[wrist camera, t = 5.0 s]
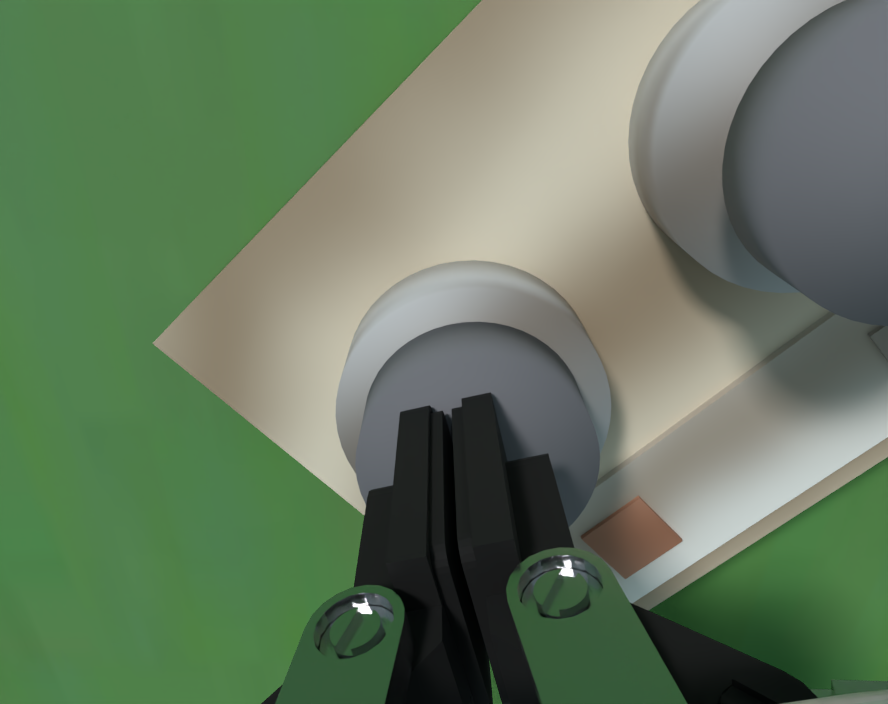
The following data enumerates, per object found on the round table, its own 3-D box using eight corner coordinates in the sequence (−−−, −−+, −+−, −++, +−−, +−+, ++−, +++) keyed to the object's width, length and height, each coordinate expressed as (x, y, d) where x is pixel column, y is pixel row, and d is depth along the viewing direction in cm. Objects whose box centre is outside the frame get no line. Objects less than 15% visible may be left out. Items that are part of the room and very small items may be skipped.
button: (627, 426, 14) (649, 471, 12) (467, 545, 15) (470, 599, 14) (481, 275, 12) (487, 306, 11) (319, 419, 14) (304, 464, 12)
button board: (1407, -4, 15) (1800, -23, 11) (540, 592, 22) (565, 728, 18) (1180, -726, 11) (1679, -1244, 6) (196, 297, 18) (117, 380, 14)
